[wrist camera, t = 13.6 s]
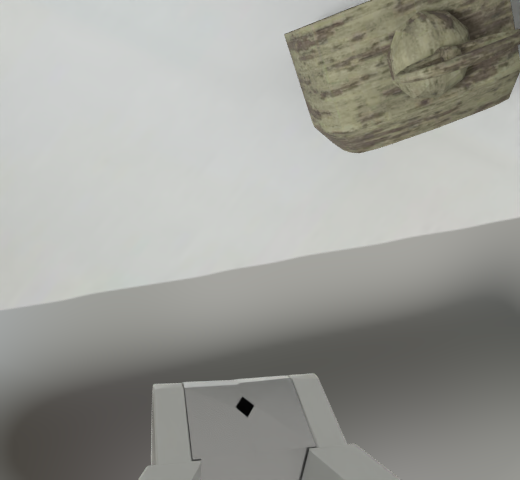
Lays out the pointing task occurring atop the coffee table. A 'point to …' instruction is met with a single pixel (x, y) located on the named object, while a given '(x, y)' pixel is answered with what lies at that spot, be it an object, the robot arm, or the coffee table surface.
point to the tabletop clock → (404, 67)
